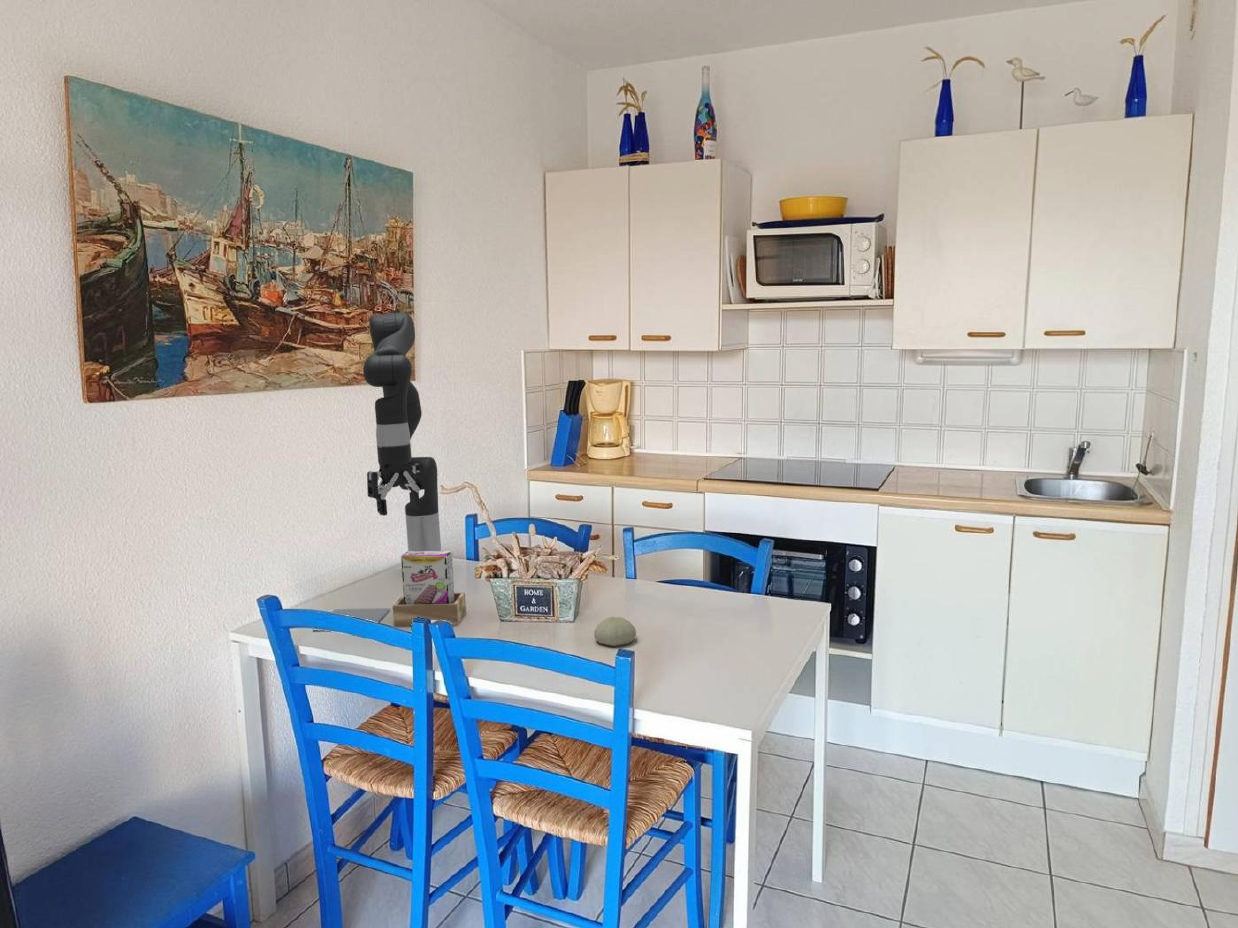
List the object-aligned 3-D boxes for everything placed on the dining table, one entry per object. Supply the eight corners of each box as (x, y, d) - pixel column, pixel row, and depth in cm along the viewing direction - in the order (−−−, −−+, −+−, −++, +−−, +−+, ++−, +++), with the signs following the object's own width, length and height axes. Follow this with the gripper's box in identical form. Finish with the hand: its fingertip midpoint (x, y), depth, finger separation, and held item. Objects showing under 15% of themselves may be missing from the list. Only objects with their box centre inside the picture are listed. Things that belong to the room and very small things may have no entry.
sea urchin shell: (636, 622, 193) (635, 607, 186) (636, 656, 188) (635, 640, 182) (595, 623, 193) (593, 607, 186) (595, 656, 188) (592, 641, 182)
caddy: (405, 613, 210) (403, 593, 209) (466, 612, 210) (464, 592, 209) (394, 626, 201) (392, 605, 200) (457, 625, 201) (456, 604, 200)
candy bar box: (404, 622, 204) (399, 555, 201) (411, 615, 208) (406, 550, 206) (450, 622, 202) (446, 555, 200) (456, 615, 207) (452, 549, 205)
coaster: (334, 611, 213) (334, 609, 213) (390, 610, 213) (390, 608, 213) (312, 631, 200) (312, 628, 200) (372, 630, 199) (371, 627, 199)
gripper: (409, 437, 205) (414, 504, 207) (357, 445, 194) (363, 515, 197) (428, 439, 200) (433, 507, 202) (375, 447, 189) (381, 519, 192)
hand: (399, 511), depth 200 cm, fingers open, 8 cm apart
